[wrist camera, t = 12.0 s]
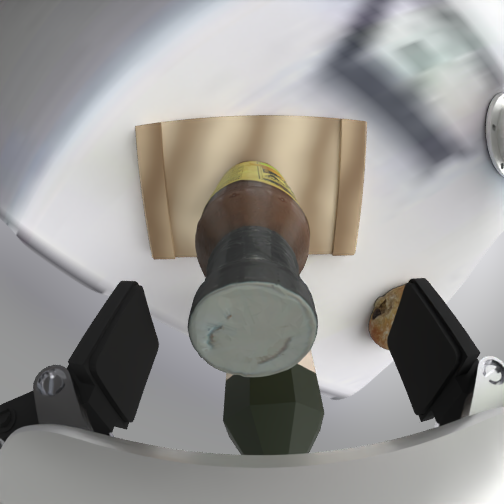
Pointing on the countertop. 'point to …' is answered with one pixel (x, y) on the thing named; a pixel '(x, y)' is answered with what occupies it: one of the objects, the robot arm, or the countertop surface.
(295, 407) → the wine bottle
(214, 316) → the sauce bottle
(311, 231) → the board
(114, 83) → the countertop surface
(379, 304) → the bread roll
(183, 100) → the countertop surface
